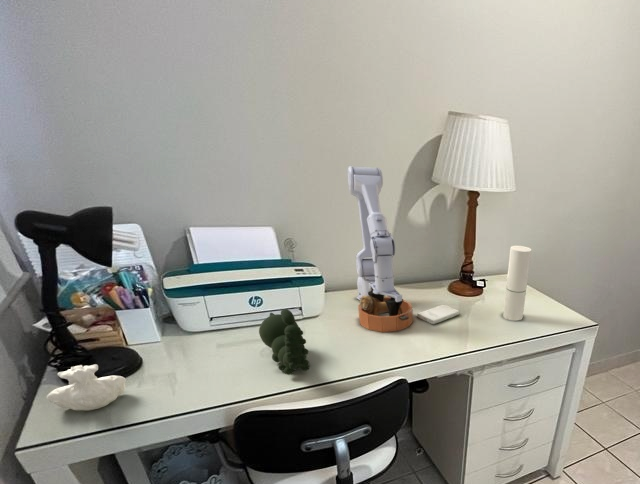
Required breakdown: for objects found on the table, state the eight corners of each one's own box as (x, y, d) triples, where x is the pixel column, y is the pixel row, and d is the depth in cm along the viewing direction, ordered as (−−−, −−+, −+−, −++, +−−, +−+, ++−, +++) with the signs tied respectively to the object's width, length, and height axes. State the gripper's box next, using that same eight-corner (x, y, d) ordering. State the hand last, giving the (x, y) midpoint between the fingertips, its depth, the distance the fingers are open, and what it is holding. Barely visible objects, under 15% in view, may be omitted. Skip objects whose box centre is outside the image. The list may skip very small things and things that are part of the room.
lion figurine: (362, 325, 131) (360, 299, 127) (359, 318, 135) (357, 292, 131) (408, 321, 138) (408, 296, 133) (404, 315, 142) (404, 290, 137)
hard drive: (459, 315, 147) (433, 324, 138) (442, 308, 151) (417, 316, 142) (459, 311, 146) (433, 320, 137) (443, 303, 150) (417, 312, 141)
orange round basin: (346, 317, 136) (344, 303, 133) (387, 305, 148) (387, 292, 145) (384, 338, 126) (383, 323, 124) (425, 323, 138) (425, 310, 136)
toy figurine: (322, 382, 106) (293, 335, 121) (315, 317, 96) (283, 274, 110) (282, 392, 101) (257, 342, 115) (270, 325, 90) (243, 279, 105)
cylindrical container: (523, 314, 154) (532, 247, 141) (521, 321, 148) (530, 252, 135) (504, 311, 154) (511, 244, 142) (502, 319, 148) (509, 249, 135)
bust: (61, 424, 85) (43, 405, 76) (48, 392, 86) (29, 370, 77) (136, 403, 92) (127, 384, 84) (123, 374, 93) (114, 352, 85)
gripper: (359, 271, 130) (362, 311, 137) (388, 285, 123) (390, 326, 130) (378, 267, 135) (380, 306, 142) (407, 280, 128) (408, 320, 135)
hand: (386, 315), depth 136 cm, fingers closed on lion figurine, 7 cm apart
